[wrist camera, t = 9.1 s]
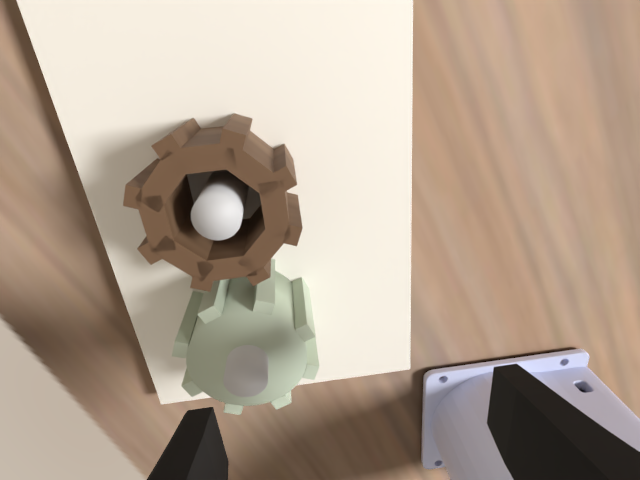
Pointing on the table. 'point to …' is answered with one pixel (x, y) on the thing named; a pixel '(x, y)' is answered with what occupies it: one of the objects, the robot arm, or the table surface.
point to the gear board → (290, 104)
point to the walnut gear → (176, 202)
